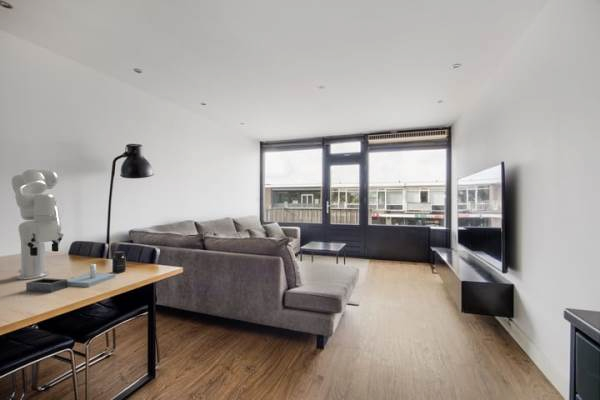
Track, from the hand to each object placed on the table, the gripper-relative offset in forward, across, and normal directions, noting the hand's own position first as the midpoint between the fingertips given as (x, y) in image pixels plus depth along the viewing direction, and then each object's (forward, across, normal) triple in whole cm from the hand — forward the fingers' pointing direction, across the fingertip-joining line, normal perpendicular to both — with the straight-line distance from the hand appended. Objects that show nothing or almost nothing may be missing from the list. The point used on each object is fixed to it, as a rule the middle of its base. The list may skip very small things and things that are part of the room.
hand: (44, 253), depth 131 cm
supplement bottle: (+18, -30, +14) cm, 38 cm away
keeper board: (+17, -12, +12) cm, 25 cm away
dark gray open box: (+17, +1, +3) cm, 18 cm away
